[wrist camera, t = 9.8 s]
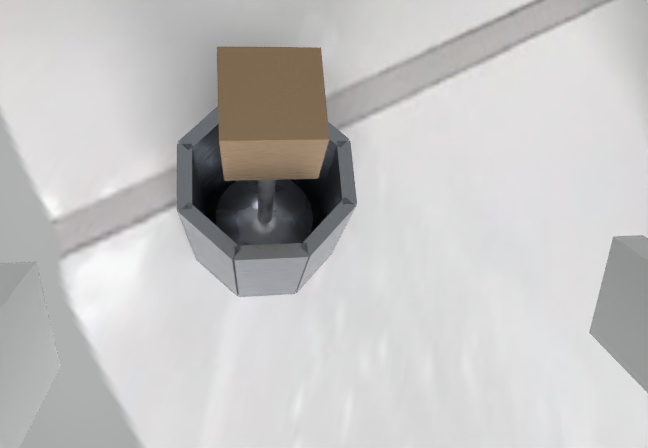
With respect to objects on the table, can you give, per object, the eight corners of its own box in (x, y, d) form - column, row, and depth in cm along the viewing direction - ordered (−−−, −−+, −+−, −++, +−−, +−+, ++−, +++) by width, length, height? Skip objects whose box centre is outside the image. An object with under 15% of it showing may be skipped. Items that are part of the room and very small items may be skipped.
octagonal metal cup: (324, 166, 42) (345, 96, 32) (335, 291, 39) (362, 254, 29) (195, 169, 40) (177, 97, 31) (195, 299, 37) (176, 263, 28)
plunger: (308, 176, 39) (343, 26, 24) (314, 264, 37) (358, 163, 22) (215, 178, 38) (190, 24, 23) (217, 268, 36) (190, 167, 21)
